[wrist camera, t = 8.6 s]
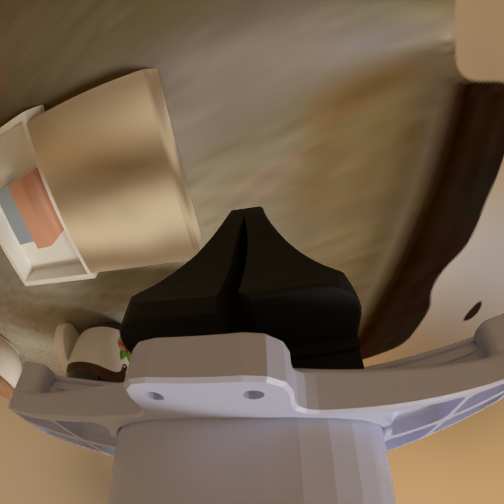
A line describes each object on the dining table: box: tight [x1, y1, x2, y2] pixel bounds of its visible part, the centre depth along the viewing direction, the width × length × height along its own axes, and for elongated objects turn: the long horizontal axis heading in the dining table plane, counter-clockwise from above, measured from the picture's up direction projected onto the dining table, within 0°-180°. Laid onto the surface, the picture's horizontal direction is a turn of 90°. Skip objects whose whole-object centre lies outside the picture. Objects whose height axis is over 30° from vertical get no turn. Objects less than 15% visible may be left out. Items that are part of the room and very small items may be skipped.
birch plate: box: [26, 68, 202, 273], centre depth 19 cm, size 14×10×3 cm
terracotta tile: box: [8, 165, 64, 249], centre depth 19 cm, size 6×4×2 cm
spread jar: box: [54, 323, 132, 383], centre depth 29 cm, size 12×11×12 cm
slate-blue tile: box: [0, 177, 34, 245], centre depth 20 cm, size 6×4×2 cm, turn 9°
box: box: [0, 104, 99, 286], centre depth 20 cm, size 16×11×2 cm
